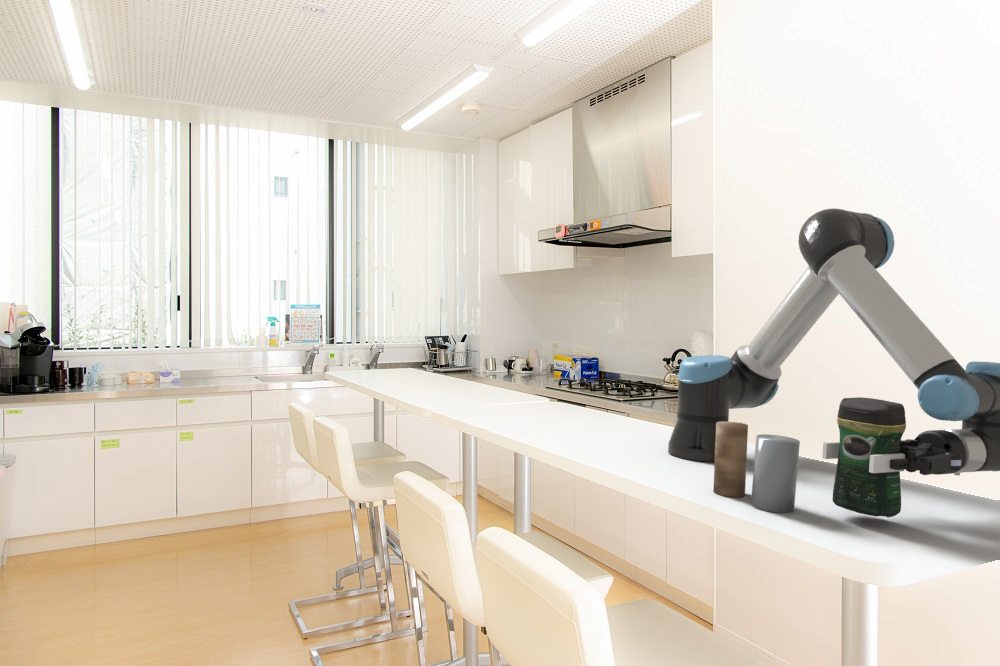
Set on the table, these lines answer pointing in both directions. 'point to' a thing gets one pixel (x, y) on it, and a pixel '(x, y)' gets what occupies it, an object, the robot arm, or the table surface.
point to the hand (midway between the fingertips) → (847, 457)
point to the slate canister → (775, 473)
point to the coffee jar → (868, 456)
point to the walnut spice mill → (730, 459)
